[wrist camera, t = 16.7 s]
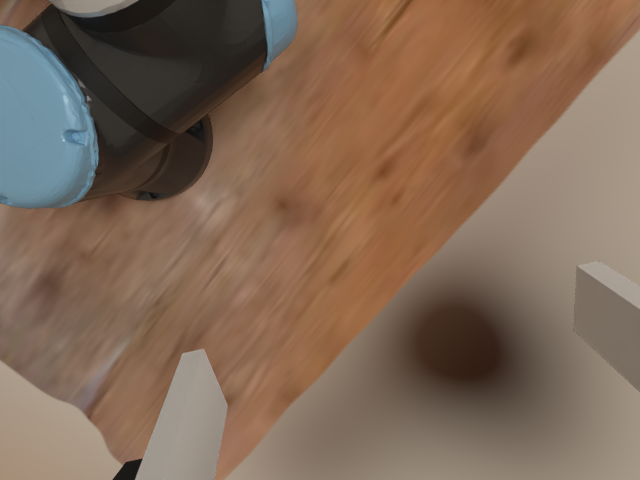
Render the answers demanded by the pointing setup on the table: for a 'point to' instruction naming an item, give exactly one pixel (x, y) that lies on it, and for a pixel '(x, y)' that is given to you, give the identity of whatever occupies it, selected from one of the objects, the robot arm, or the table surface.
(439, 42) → the table surface
